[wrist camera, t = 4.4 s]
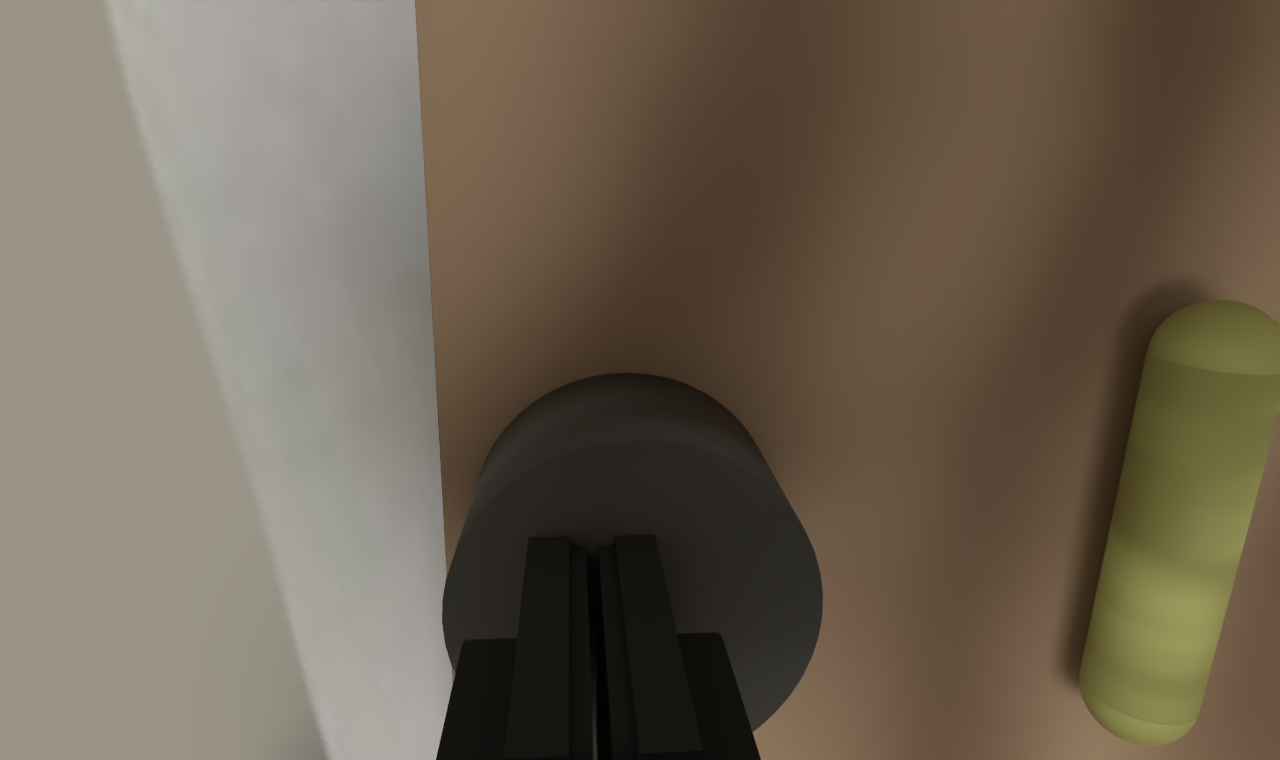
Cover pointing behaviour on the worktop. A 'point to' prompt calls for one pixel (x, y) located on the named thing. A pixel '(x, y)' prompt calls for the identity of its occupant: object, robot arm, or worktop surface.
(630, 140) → the levelling plate
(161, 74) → the worktop surface
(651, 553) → the robot arm
